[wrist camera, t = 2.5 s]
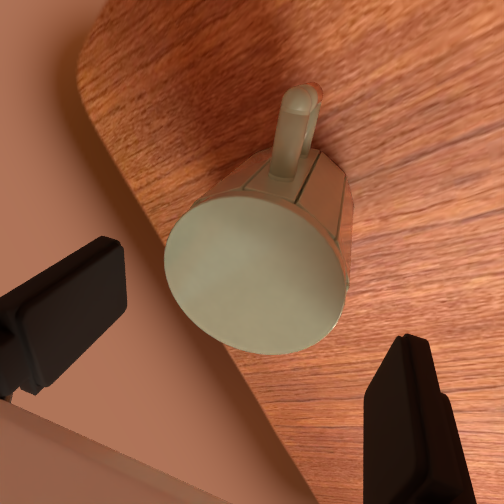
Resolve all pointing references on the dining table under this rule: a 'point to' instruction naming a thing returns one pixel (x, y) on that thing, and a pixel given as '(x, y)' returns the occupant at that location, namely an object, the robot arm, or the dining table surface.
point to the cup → (268, 242)
